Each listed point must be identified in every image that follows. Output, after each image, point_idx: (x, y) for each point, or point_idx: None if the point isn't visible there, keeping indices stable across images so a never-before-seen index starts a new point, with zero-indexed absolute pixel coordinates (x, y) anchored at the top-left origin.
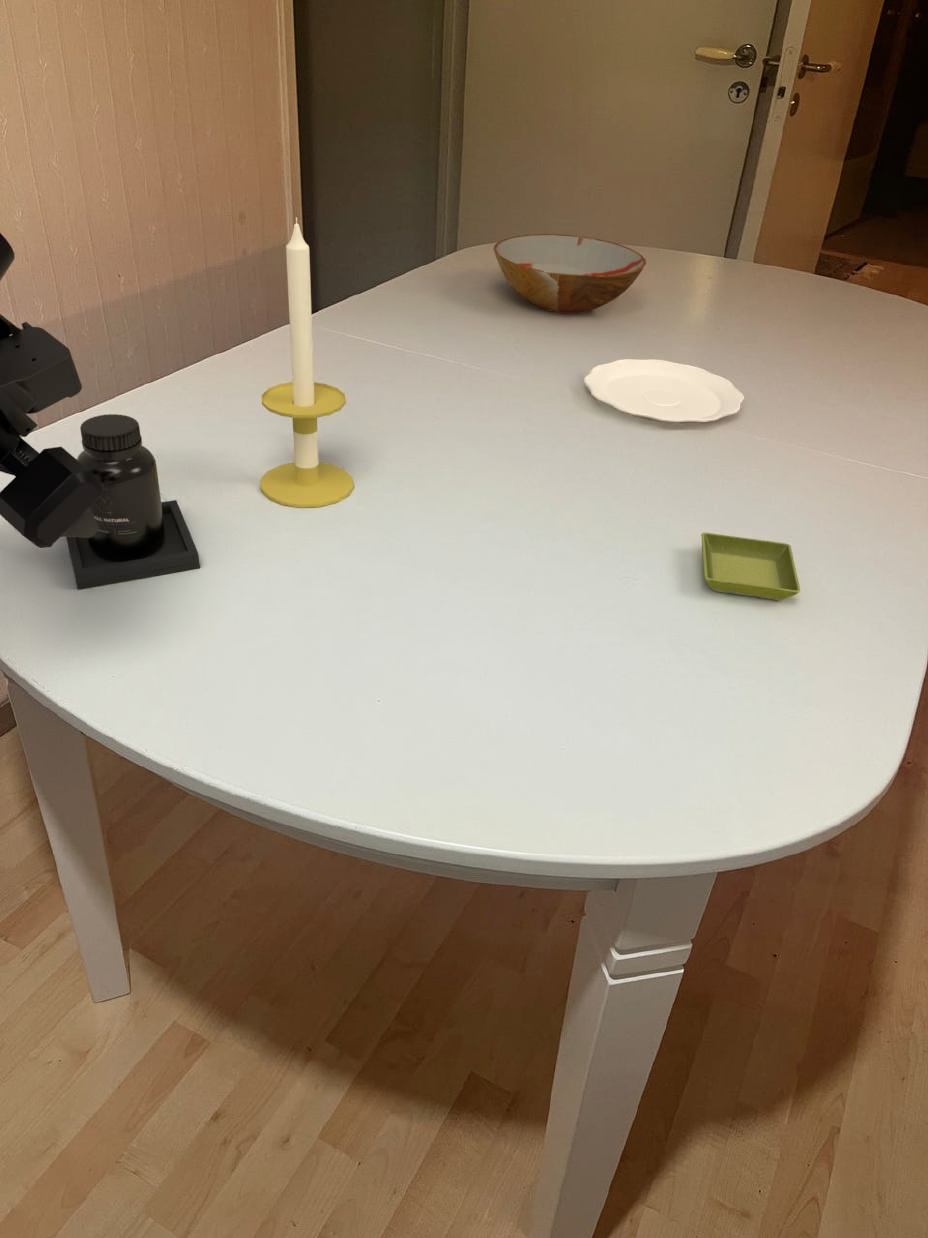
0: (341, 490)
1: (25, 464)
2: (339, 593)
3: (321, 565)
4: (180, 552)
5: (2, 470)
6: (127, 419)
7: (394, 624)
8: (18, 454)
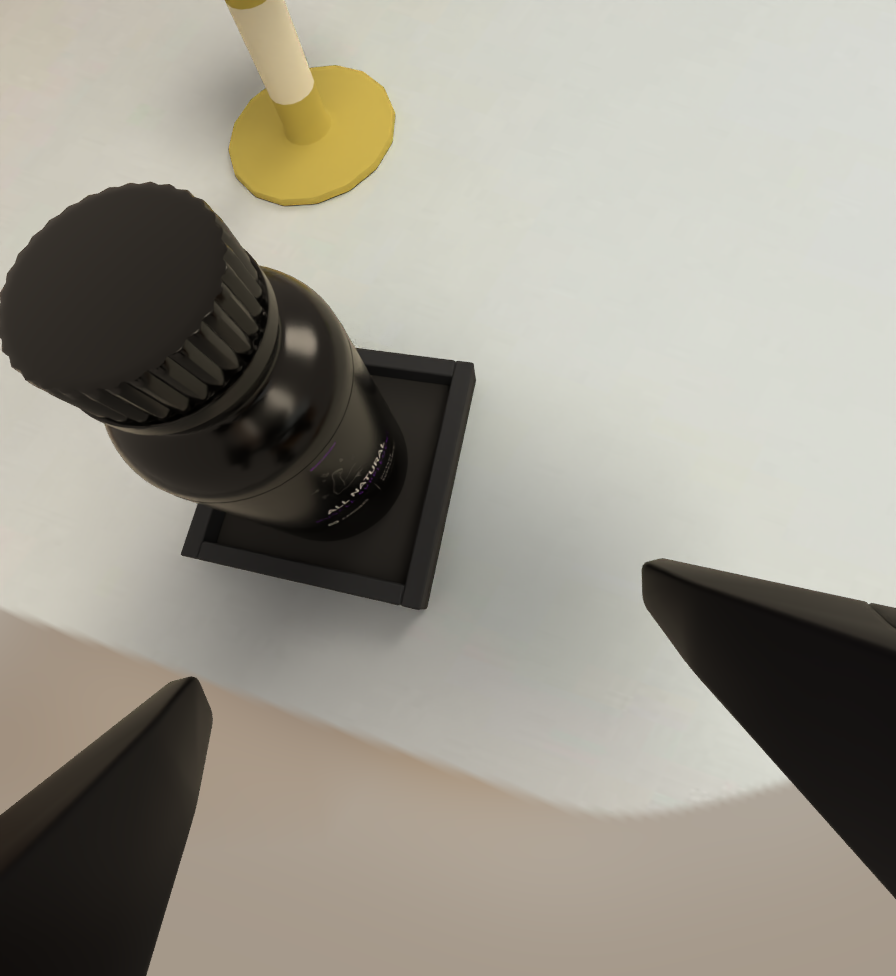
0: (370, 92)
1: (177, 713)
2: (679, 204)
3: (575, 200)
4: (450, 390)
5: (180, 852)
6: (106, 208)
7: (817, 161)
8: (133, 764)
